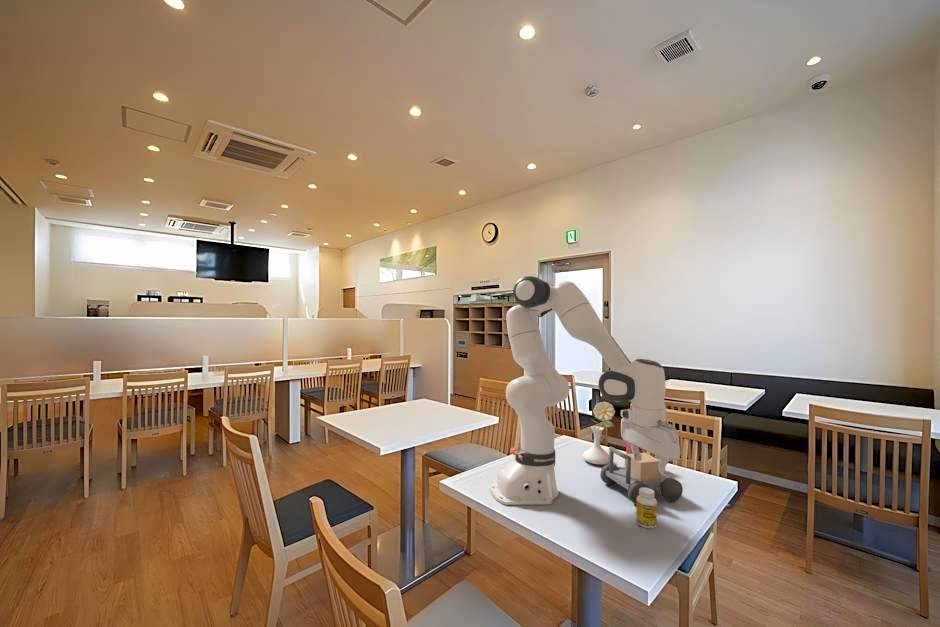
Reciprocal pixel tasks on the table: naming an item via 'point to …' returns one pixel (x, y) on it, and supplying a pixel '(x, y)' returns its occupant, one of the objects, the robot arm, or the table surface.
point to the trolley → (640, 476)
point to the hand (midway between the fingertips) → (648, 465)
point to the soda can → (629, 450)
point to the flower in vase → (599, 434)
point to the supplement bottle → (646, 508)
